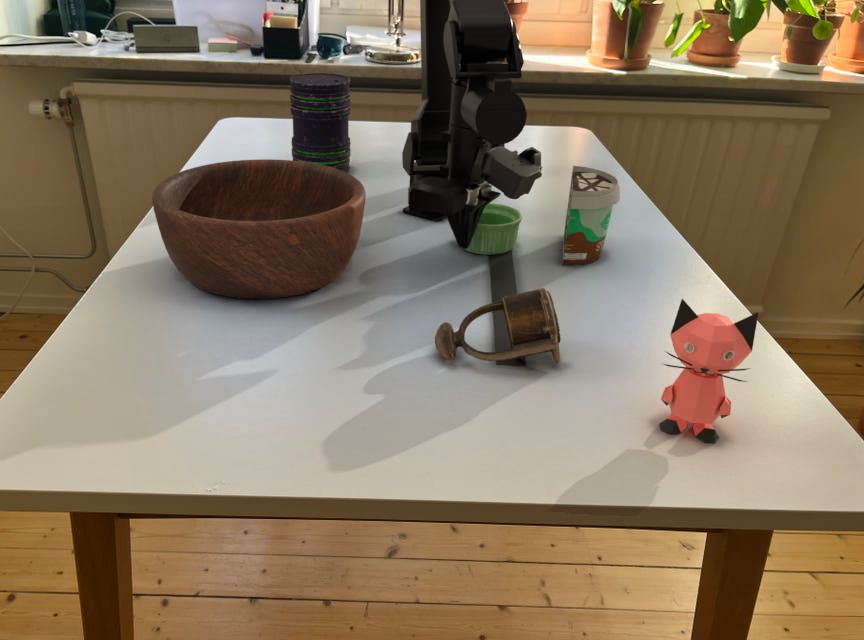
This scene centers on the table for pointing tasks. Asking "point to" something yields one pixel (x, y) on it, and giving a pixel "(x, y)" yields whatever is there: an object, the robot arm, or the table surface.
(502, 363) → the dark grey flat bar
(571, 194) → the food container
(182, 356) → the table surface
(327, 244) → the wooden bowl
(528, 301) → the bronze metal cylindrical vessel
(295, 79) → the storage jar
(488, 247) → the ramekin
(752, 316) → the cat figurine
